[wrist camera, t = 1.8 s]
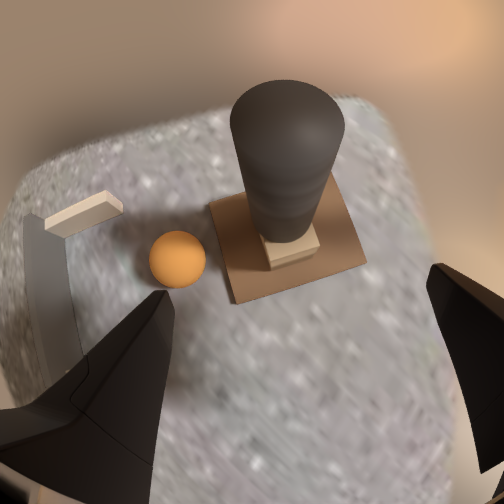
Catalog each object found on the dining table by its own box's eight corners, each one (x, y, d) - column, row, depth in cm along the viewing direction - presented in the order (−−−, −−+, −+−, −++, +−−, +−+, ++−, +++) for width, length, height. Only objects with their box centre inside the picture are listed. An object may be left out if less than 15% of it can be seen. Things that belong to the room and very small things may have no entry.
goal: (156, 366, 20) (126, 377, 15) (81, 378, 20) (45, 387, 15) (122, 203, 23) (92, 179, 19) (56, 232, 23) (23, 216, 19)
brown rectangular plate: (365, 263, 21) (366, 262, 20) (237, 304, 21) (236, 304, 20) (328, 171, 23) (329, 168, 22) (209, 205, 23) (208, 203, 22)
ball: (217, 282, 21) (204, 274, 17) (167, 296, 21) (146, 292, 17) (203, 232, 22) (189, 215, 18) (156, 247, 22) (135, 234, 18)
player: (315, 257, 20) (373, 171, 8) (267, 272, 20) (255, 203, 8) (293, 194, 21) (309, 61, 9) (247, 208, 22) (214, 81, 9)
